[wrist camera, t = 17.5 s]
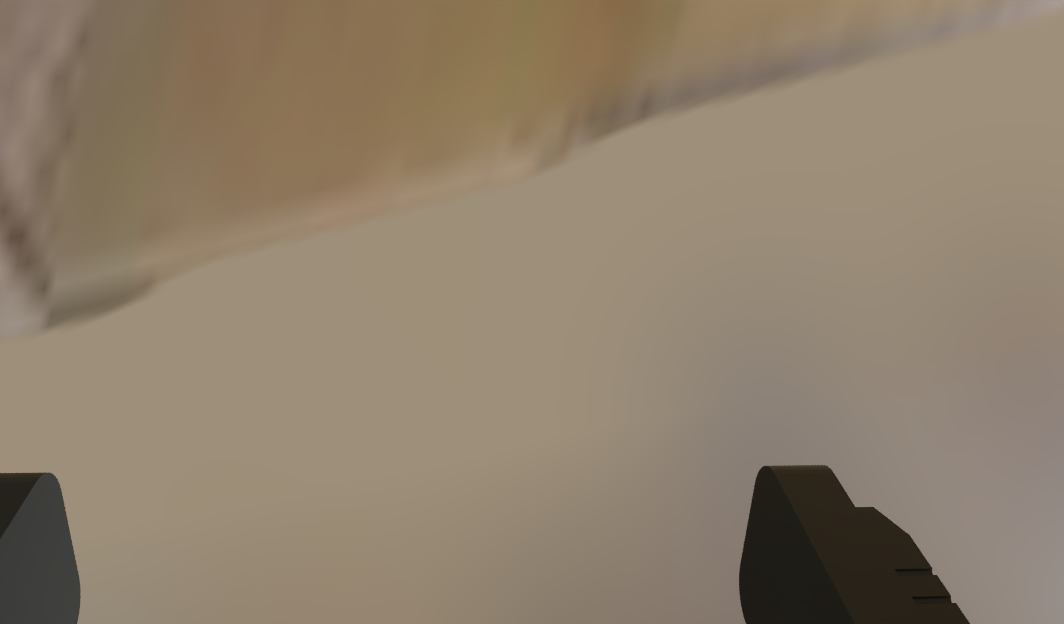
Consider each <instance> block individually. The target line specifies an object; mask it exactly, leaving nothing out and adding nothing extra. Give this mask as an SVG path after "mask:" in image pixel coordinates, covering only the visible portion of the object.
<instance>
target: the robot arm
mask: <svg viewBox="0 0 1064 624" xmlns="http://www.w3.org/2000/svg"><path fill="white" fill-rule="evenodd" d="M739 591H740V600H741V607H742V611H743V615H744V619H745V622H746V624H970V623H969V622H968V620H967V619H966V617H965V616H964V614H963V613H962V611H961V610H960V608H959V607H958V605H957V604H956V603H952V602H951V595H950V594H949V592H948V591H947V589H946V588H945V586H944V585H943V583H942V582H941V581H940V579H939V578H938V576H937V575H933V574H932V567H931V566H930V564H929V563H928V562H927V560H926V559H925V557H924V556H923V554H922V553H921V551H920V550H919V548H918V547H917V545H916V544H915V543H914V541H913V540H912V538H911V537H910V535H909V534H907V533H906V532H905V531H903V530H902V529H901V528H899V527H898V526H897V525H896V524H894V523H893V522H892V521H891V520H889V519H888V518H887V517H885V516H884V515H883V514H882V513H880V512H879V511H878V510H876V509H875V508H874V507H855V506H854V504H853V503H852V501H851V500H850V498H849V497H848V495H847V493H846V492H845V490H844V489H843V487H842V485H841V484H840V482H839V481H838V479H837V477H836V476H835V474H834V473H833V472H832V470H831V469H830V468H829V467H828V466H825V465H805V466H804V465H803V466H802V465H801V466H800V465H799V466H763V467H762V468H761V469H760V470H759V472H758V475H757V478H756V481H755V486H754V492H753V497H752V503H751V508H750V514H749V519H748V525H747V530H746V536H745V541H744V547H743V553H742V558H741V564H740V572H739ZM79 608H80V581H79V575H78V571H77V565H76V560H75V555H74V550H73V546H72V541H71V536H70V531H69V526H68V521H67V516H66V511H65V507H64V501H63V496H62V492H61V488H60V484H59V482H58V480H57V478H56V477H55V476H54V475H53V474H51V473H0V624H77V621H78V615H79Z"/></svg>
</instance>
